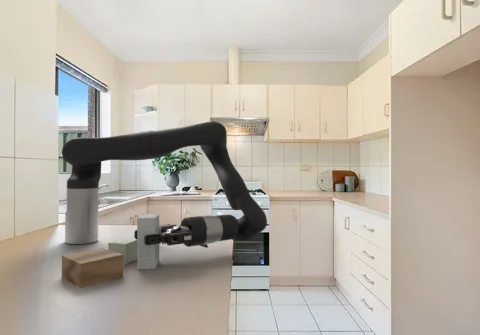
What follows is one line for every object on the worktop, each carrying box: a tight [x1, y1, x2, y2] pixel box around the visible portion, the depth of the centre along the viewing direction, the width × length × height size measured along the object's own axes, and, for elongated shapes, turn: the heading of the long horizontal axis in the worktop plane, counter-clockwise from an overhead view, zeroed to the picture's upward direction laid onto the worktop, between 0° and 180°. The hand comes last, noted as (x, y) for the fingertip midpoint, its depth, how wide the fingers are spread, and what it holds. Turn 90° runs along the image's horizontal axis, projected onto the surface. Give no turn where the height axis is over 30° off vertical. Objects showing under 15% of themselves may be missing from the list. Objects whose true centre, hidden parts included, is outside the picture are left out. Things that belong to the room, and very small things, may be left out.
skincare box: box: [136, 213, 160, 270], centre depth 76 cm, size 6×4×12 cm
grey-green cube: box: [107, 238, 137, 265], centre depth 81 cm, size 5×5×5 cm
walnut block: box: [61, 247, 125, 289], centre depth 68 cm, size 9×9×5 cm
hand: (139, 237), depth 75 cm, fingers closed on skincare box, 7 cm apart
